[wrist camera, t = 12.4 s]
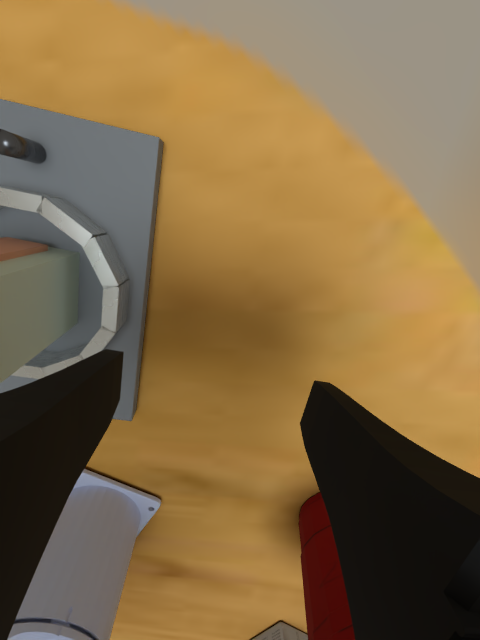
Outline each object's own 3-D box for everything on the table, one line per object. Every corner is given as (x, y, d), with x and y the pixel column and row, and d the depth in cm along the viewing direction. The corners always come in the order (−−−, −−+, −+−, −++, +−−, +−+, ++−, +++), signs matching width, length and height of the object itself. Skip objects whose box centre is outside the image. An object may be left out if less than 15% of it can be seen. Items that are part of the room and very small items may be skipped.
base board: (136, 410, 22) (131, 421, 21) (-39, 388, 21) (-54, 398, 20) (163, 142, 16) (159, 137, 15) (-79, 84, 15) (-103, 74, 14)
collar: (122, 372, 20) (109, 393, 17) (-46, 348, 18) (-85, 368, 16) (138, 165, 16) (124, 157, 13) (-77, 116, 14) (-135, 97, 12)
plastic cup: (409, 478, 26) (548, 677, 15) (356, 556, 30) (437, 765, 19) (299, 454, 25) (364, 658, 13) (255, 539, 28) (278, 759, 17)
